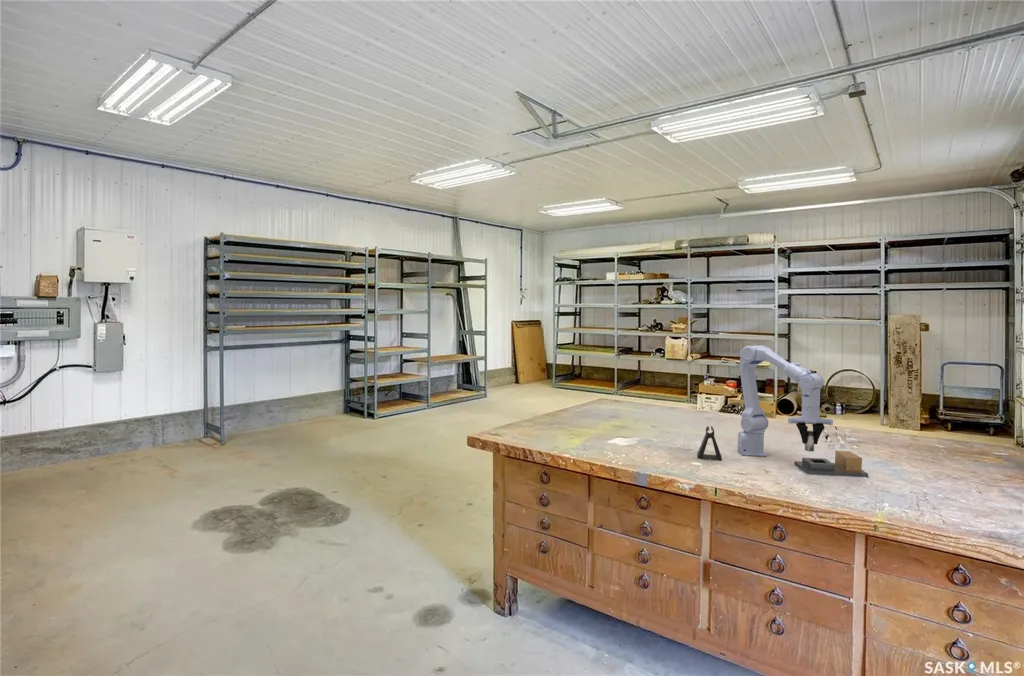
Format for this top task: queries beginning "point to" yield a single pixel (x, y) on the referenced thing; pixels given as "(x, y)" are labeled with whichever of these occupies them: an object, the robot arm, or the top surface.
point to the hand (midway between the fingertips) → (809, 443)
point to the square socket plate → (834, 465)
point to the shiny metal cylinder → (810, 441)
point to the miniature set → (841, 443)
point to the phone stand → (703, 446)
